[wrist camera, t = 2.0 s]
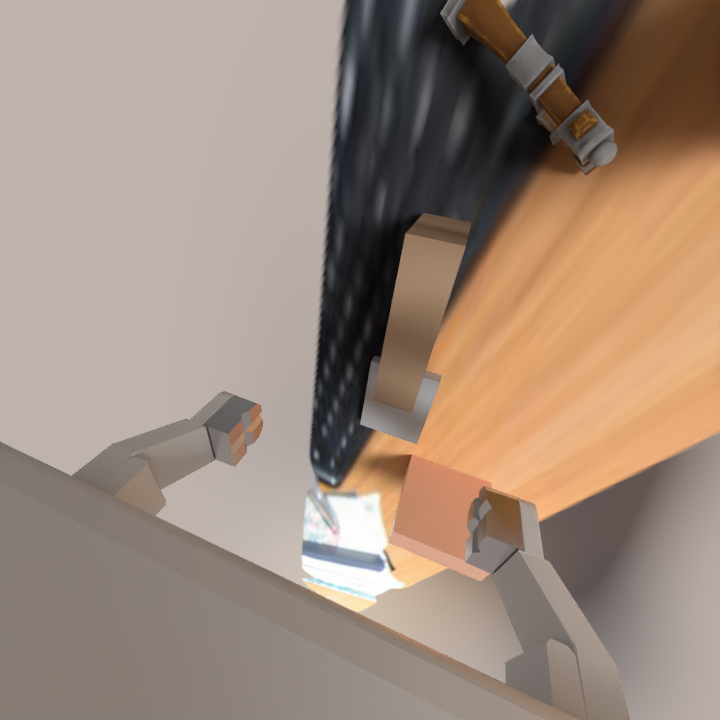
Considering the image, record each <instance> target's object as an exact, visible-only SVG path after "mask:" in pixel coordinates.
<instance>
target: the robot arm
mask: <svg viewBox="0 0 720 720" xmlns="http://www.w3.org/2000/svg"><path fill="white" fill-rule="evenodd" d="M261 412H262V410H261V405H259V404H256V403H254V402H251V401H249V400H246V399H243V398H241V397H238V396H236V395H233V394H231V393H228V392H221V393H219V394H218V395H217V396H216V397H215V398H214V399H212V400H211V401H210V402H209V403H208V404H207V405H206V406H205V407H203V408H202V409H201V410H200V411H199V412H198V413H197V414H196V415H195V416H193V418H191V419H190V420H189V419H184V420H181V421H178V422H176V423H172V424H170V425H166V426H164V427H161V428H158V429H155V430H152V431H149V432H146V433H144V434H140V435H137V436H135V437H132V438H129V439H126V440H123V441H120V442H117V443H114V444H112V445H111V446H109V447H108V448H107V449H105V450H104V451H103V452H101V453H100V454H99V455H98V456H97V457H95V458H94V459H92V460H91V461H90V462H89V463H87V464H86V465H85V466H83V467H82V468H81V469H80V470H79V471H77V472H76V473H75V474H73V475H72V476H71V475H68V474H66V473H64V472H62V471H60V470H58V469H56V468H54V467H52V466H50V465H48V464H45V463H43V462H41V461H39V460H37V459H35V458H33V457H31V456H29V455H27V454H24V453H22V452H20V451H18V450H16V449H14V448H12V447H10V446H8V445H6V444H4V443H2V442H0V720H630V717H629V713H628V709H627V706H626V702H625V697H624V693H623V689H622V685H621V682H620V677H619V674H618V670H617V666H616V664H615V663H614V661H613V660H612V658H611V657H610V655H609V654H608V652H607V650H606V649H605V647H604V646H603V644H602V643H601V641H600V639H599V638H598V636H597V635H596V633H595V632H594V630H593V629H592V627H591V626H590V624H589V622H588V621H587V619H586V618H585V616H584V615H583V613H582V612H581V610H580V609H579V607H578V605H577V604H576V603H575V601H574V599H573V598H572V596H571V595H570V593H569V592H568V590H567V589H566V587H565V585H564V584H563V582H562V581H561V579H560V577H559V576H558V574H557V573H556V571H555V570H554V568H553V567H552V565H551V564H550V562H549V561H546V560H544V556H543V549H542V543H541V536H540V529H539V522H538V515H537V508H536V506H535V504H533V503H531V502H528V501H525V500H522V499H520V498H516V497H515V496H512V495H510V494H507V493H504V492H501V491H498V490H495V489H492V488H489V487H486V486H483V487H482V488H481V489H480V491H479V498H475V499H474V500H473V502H472V503H471V505H470V508H469V512H468V517H467V528H468V530H469V532H470V536H469V537H468V538H467V540H466V550H465V562H466V563H468V564H470V565H472V566H475V567H477V568H479V569H481V570H484V571H486V572H488V573H490V574H493V575H492V577H493V579H494V582H495V584H496V586H497V589H498V591H499V594H500V596H501V598H502V601H503V603H504V606H505V608H506V611H507V613H508V615H509V617H510V620H511V623H512V625H513V627H514V630H515V632H516V635H517V637H518V639H519V642H520V644H521V646H522V649H523V651H524V652H523V653H521V654H520V655H518V656H516V657H514V658H512V659H510V660H508V661H507V662H506V663H505V664H506V665H505V668H506V684H505V683H503V682H501V681H498V680H496V679H494V678H492V677H490V676H488V675H486V674H484V673H482V672H480V671H478V670H475V669H474V668H471V667H469V666H467V665H465V664H463V663H461V662H459V661H457V660H455V659H453V658H450V657H448V656H446V655H444V654H442V653H440V652H438V651H436V650H434V649H431V648H430V647H427V646H425V645H423V644H421V643H419V642H417V641H415V640H413V639H411V638H409V637H407V636H405V635H403V634H400V633H398V632H396V631H394V630H392V629H390V628H388V627H386V626H384V625H382V624H379V623H377V622H375V621H373V620H371V619H369V618H367V617H365V616H363V615H361V614H359V613H356V612H355V611H352V610H350V609H348V608H346V607H344V606H342V605H340V604H338V603H336V602H334V601H332V600H329V599H327V598H325V597H323V596H321V595H319V594H317V593H315V592H313V591H311V590H308V589H307V588H304V587H302V586H300V585H298V584H296V583H294V582H292V581H290V580H288V579H286V578H284V577H281V576H279V575H277V574H275V573H273V572H271V571H269V570H267V569H265V568H263V567H261V566H258V565H256V564H254V563H252V562H250V561H248V560H246V559H244V558H242V557H240V556H238V555H236V554H233V553H231V552H229V551H227V550H225V549H223V548H221V547H219V546H217V545H215V544H212V543H210V542H208V541H206V540H204V539H202V538H200V537H198V536H196V535H194V534H192V533H190V532H188V531H185V530H183V529H181V528H179V527H177V526H175V525H173V524H171V523H169V522H167V521H164V520H162V519H160V518H158V517H156V515H157V514H158V512H159V511H160V510H161V509H162V508H163V507H164V506H165V505H166V500H165V498H164V496H163V494H162V492H161V489H163V488H164V487H166V486H168V485H170V484H172V483H174V482H176V481H177V480H179V479H181V478H183V477H185V476H187V475H188V474H190V473H192V472H194V471H196V470H198V469H200V468H201V467H203V466H205V465H207V464H209V463H211V462H213V461H214V460H215V459H216V460H219V461H221V462H224V463H227V464H229V465H232V466H236V465H237V464H238V462H239V461H240V460H241V459H242V457H243V456H244V455H245V454H246V450H247V448H246V447H247V446H249V445H251V444H253V443H254V442H255V441H256V440H257V439H258V437H259V435H260V433H261V431H262V426H263V420H262V418H261V417H260V416H259V414H260V413H261Z"/></svg>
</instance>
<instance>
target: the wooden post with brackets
mask: <svg viewBox="0 0 720 720" xmlns="http://www.w3.org/2000/svg"><path fill="white" fill-rule="evenodd" d="M440 14H441V15H442V17H443V19H444V20H445V22H446V24H447V25H448V27H449V28H450V30H451V32H452V33H453V35H454V36H455V38H456V39H457V40H460V41H461V43H462V44H463V46H464V45H465V43H466V42H467V40H468V39H469V38H470V37H472V38H474V39H475V40H477V41H479V42H480V43H481V44H482V45H484V46H485V47H486V48H487V49H489V50H490V51H491V52H492V53H493V54H495V55H496V56H497V57H498V58H499V59H501V60H502V61H503V62H504V63H505V64H506V68H507V70H508V72H509V75H510V77H511V79H512V80H514V81H515V82H517V83H518V85H519V86H520V87H521V88H522V90H523V91H524V92H525V93H526V95H527V97H528V99H529V101H530V100H531V101H532V104H533V106H534V107H536V112H537V113H538V115H537V116H536V119H537V121H538V123H539V125H540V124H541V125H542V126H544V127H545V128H546V129H547V130H548V131H549V132H550V133H551V135H550V139H551V142H552V144H553V145H555V144H556V143H557V142H559V141H561V140H564V142H565V145H566V148H567V147H570V148H571V149H572V150H573V151H574V154H575V155H574V156H573V158H574V161H575V163H576V164H577V165H578V167H579V168H580V169H581V170H582V171H583V173H584V174H585V175H587V174H589V173H590V172H591V171H592V170H594V169H595V168H596V167H601V166H605V165H607V164H608V163H610V162H611V161H612V160H613V159H614V157H615V155H616V153H617V145H616V143H614V142H613V140H614V129H612V128H611V127H609V126H608V125H607V124H606V123H605V122H604V121H603V120H602V118H601V117H600V116H599V115H598V114H597V113H596V111H595V110H594V109H593V108H592V107H591V104H590V102H589V100H587V101H586V102H584V103H583V104H582V103H581V102H580V101H579V99H578V98H577V97H576V96H575V94H574V93H573V92H572V91H571V89H570V88H569V87H568V86H567V84H566V80H565V75H564V70H563V69H561V68H560V66H559V63H558V64H557V66H556V67H555V62H554V57H552V56H550V55H548V54H547V53H546V52H545V51H544V50H543V49H542V48H541V47H540V46H539V44H538V43H537V42H536V41H535V39H534V37H533V35H531V36H530V37H529V38H528V39H527V37H526V36H525V35H524V34H523V33H522V32H521V30H520V29H519V28H518V27H517V26H516V24H515V23H514V21H513V20H512V18H511V17H510V15H509V14H508V12H507V11H506V9H505V8H504V6H503V5H502V3H501V2H500V0H448V2H447V3H446V5H445V7H444V8H443V10H442V11H441V13H440Z"/></svg>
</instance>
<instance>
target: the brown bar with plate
mask: <svg viewBox="0 0 720 720" xmlns="http://www.w3.org/2000/svg"><path fill="white" fill-rule="evenodd" d="M470 226H471V222H466V221H461V220H456V219H451V218H446V217H441V216H436V215H431V214H426V213H423V214H422V215H421V217H420V218H419V219H418V220H417V221H416V222H415V223H414V224H413V226H412V227H411V228H410V229H409V230H408V231H407V232H406V234H405V239H404V244H403V249H402V254H401V259H400V264H399V269H398V274H397V279H396V284H395V289H394V294H393V299H392V304H391V309H390V314H389V319H388V324H387V329H386V335H385V340H384V345H383V350H382V355H381V357H378V356H375V355H374V357H373V359H372V361H371V366H370V371H369V377H368V383H367V388H366V394H365V400H364V406H363V411H362V417H361V423H360V424H361V425H364V426H366V427H369V428H372V429H375V430H378V431H381V432H383V433H386V434H389V435H392V436H395V437H398V438H401V439H403V440H406V441H409V442H412V443H415V444H417V442H418V440H419V437H420V434H421V432H422V429H423V426H424V424H425V421H426V418H427V416H428V413H429V410H430V408H431V405H432V402H433V400H434V397H435V394H436V392H437V389H438V386H439V384H440V380H441V375H438V374H435V373H431V372H428V371H426V368H427V365H428V361H429V358H430V355H431V352H432V349H433V346H434V343H435V340H436V337H437V334H438V331H439V328H440V324H441V321H442V318H443V315H444V312H445V309H446V306H447V303H448V300H449V297H450V294H451V290H452V287H453V284H454V281H455V278H456V275H457V272H458V269H459V266H460V263H461V260H462V257H463V253H464V250H465V247H466V243H467V239H468V235H469V230H470Z"/></svg>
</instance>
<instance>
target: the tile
mask: <svg viewBox="0 0 720 720" xmlns="http://www.w3.org/2000/svg"><path fill="white" fill-rule="evenodd" d="M483 486H486V487H489V488H492V483H490V482H487V481H484V480H481V479H478V478H476V477H473V476H470V475H467V474H465V473H462V472H459V471H456V470H454V469H451V468H448V467H445V466H442V465H440V464H437V463H434V462H431V461H429V460H426V459H423V458H420V457H417V456H415V455H412V456H411V459H410V461H409V464H408V467H407V470H406V474H405V478H404V482H403V486H402V490H401V494H400V498H399V502H398V506H397V510H396V514H395V517H394V521H393V525H392V529H391V533H390V537H389V541H388V542H389V543H391V544H393V545H396V546H398V547H400V548H403V549H405V550H408V551H410V552H412V553H415V554H417V555H419V556H422V557H424V558H426V559H429V560H431V561H433V562H436V563H438V564H441V565H443V566H445V567H448V568H450V569H452V570H455V571H457V572H459V573H462V574H464V575H467V576H469V577H471V578H474V579H476V580H478V581H482V580H483V579H484V578H485V577H486V576H488V575H489V574H490V573H488V572H486V571H484V570H481V569H479V568H477V567H475V566H472V565H470V564H468V563H466V562H465V550H466V540H467V538H468V537H469V536H470V532H469V530H468V528H467V517H468V512H469V508H470V505H471V503H472V502H473V500H474V499H475V498H479V491H480V489H481V488H482V487H483Z"/></svg>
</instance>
